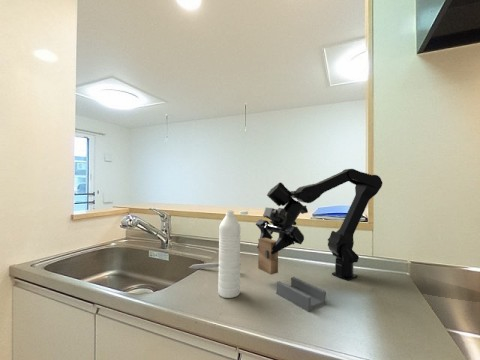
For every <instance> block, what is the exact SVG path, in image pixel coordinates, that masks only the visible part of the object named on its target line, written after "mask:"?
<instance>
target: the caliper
mask: <svg viewBox="0 0 480 360" xmlns="http://www.w3.org/2000/svg"><path fill="white" fill-rule="evenodd" d="M188 268H189V269H195V270H197V269H198V270H200V269H209V268H219V261H218V262H210V263H207V262H206V263H199V264H198V263H196V264H192V265H191V266H188Z"/></svg>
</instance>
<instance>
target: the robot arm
mask: <svg viewBox="0 0 480 360" xmlns="http://www.w3.org/2000/svg"><path fill="white" fill-rule="evenodd" d="M347 182H350V183H351V184H353V185H355V188H354V190H355V196H354V197H353V199H352V202H351V204H350V206H349V209H348V210H347V213H346V215H345V217H344V218H343V222H342V224H341V225H340V228H339V229H338V230H337V231H335V230H332V231H331V233H330V235H329V238H327V247H328V250H329V251H331V254H332V256H333V257H335V263H334V264H335V265H334V269H335V271H334V272H331V275H332V276H335V277H338V278H340V279H343V280H346V281H349V280H352V279H355V278H358V274H355V273H354V263H358V261H359V258H360V257H359V255H358V254H357V253H356V252H355V251H354V250H353V247H354V244H355V241H354V235H355V232H356V231H357V227H358V226H359V224H360V221H361V219H362V217H363V215H364V212H365V211H366V208H367V206H368V204H369V202H370V200H371V199H372V198H373V197H375V196H376V195H377V194H379V193H378V192H379V191H380V190H381V189H382V186H383V181H382V178H381V177H380V176H379V175H377V174H370V173H366V172H362V171H359V170H356V169H354V168H346V169H343V170H342V171H341V172H339V173H336V174H333V175H331V176H330V177H326V178H325V179H323V180H320V181H319V182H315V183H311V184H307V185H303V186H299V187H298V188H296V190H289V189H288V188H287V187H286V186H285V185H284V184H283V183H282V182H278V183H277V184H276V185H275V186H273V187H272V188H270V190H269V191H268V192H267V194H266V196H267V197H268V198H269V199H270V200H271V201H272V202H273V203H274V204H276V206H278V208H277V209H276V208H274V207H273V208H272V207H265V208H264V212H263V215H262V217H263V218H266V219H268V220H269V221H268V220H266V219H265V220H264V219H258V220H257V222H255V225H256V226H257V228H258V229H259V230H260V236H259V239H260V238H268V239H272V240H273V233H277V234H278V238H277V240H275V241H276V243H275V245H274V246H273V248H272V250H271V254H275V253H276V252H278V253H279V252H280V251H282V250H283V249H286V248H287V247H289V246H291V245H295V244H298V245H302V244H303V242H304V240H305V235H304V234H303V232H302V231H301V229H299V227H298V226H296V225H297V221H296V220H297V219H298V217H299V216H300V214H303V215H304V214H308V213H309V211H308V208H307V205H303V204H302V203H304V204H305V203H306V204H311V203H313V202H315V201H316V200H317V199H319V198H320V197H321V196H322V195H323V194H324V193H326V192H328V191H330V190H333V189H335V188H338V186H340V185H344V184H346V183H347ZM280 206H282V207H283V208H282V207H280ZM269 222H270V223H271V224H272V225H271V224H270V223H269ZM257 249H258V245H257Z"/></svg>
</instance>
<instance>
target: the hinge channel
mask: <svg viewBox="0 0 480 360" xmlns="http://www.w3.org/2000/svg"><path fill="white" fill-rule="evenodd" d="M275 291H276V295H278V296H280V297H282V298H283V299H285V300H287V301H289V302H291V303H292V304H294V305H296V306H297V307H299V308H301V309H302V310H304V311H306V312H310V311H313V310H315V309H318V308H319V307H321V306H324V305H326V303H327V302H326V301H327V299H326V298H327V293H326V290H323V289H322V288H320V287H317V286H315V285H313V284H310V283H309V282H307V281H304V280H301V279H299V278H297V277H295V276H293V277H290V285H289V284H286V283H284V282H282V281H281V280H277V281H276V290H275Z"/></svg>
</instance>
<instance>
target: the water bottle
mask: <svg viewBox="0 0 480 360" xmlns="http://www.w3.org/2000/svg"><path fill="white" fill-rule="evenodd" d="M225 211H226V213H225V216H224V218H223V219H222V220H221V222H220V224H219V228H218V234H219V237H218V242H219V243H218V262H219V267H218V283H217V284H218V286H217V287H218V288H217V291H218V292H217V293H218V295H219V297H222V298H223V299H225V298H226V299H232V298H236V297H238V296H239V295H240V293H241V292H240V291H241V287H240V283H241V278H240V277H241V224H240V223H239V221H238V220H237V217H235V211H234V210H225ZM239 215H243V216H244V215H245V216H246V215H249V210H240V211H239Z"/></svg>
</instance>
